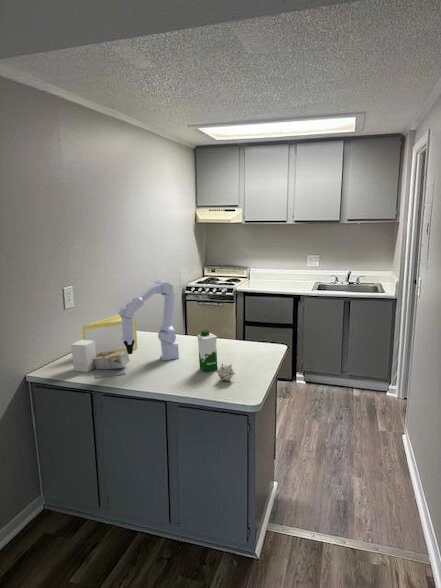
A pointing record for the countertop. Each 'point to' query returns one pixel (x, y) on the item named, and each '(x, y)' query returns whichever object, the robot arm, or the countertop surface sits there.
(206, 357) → the milk carton
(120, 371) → the mat
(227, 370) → the spiky ball ornament
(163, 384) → the countertop surface
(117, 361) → the coffee box
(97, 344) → the yellow rectangular frame
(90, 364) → the supplement box
